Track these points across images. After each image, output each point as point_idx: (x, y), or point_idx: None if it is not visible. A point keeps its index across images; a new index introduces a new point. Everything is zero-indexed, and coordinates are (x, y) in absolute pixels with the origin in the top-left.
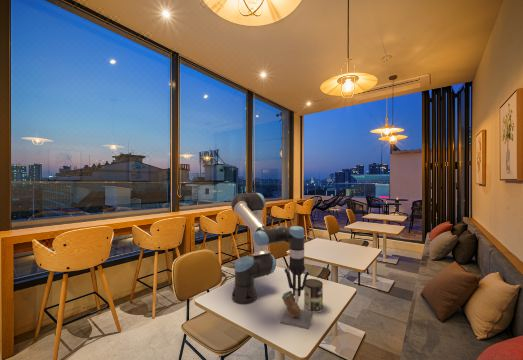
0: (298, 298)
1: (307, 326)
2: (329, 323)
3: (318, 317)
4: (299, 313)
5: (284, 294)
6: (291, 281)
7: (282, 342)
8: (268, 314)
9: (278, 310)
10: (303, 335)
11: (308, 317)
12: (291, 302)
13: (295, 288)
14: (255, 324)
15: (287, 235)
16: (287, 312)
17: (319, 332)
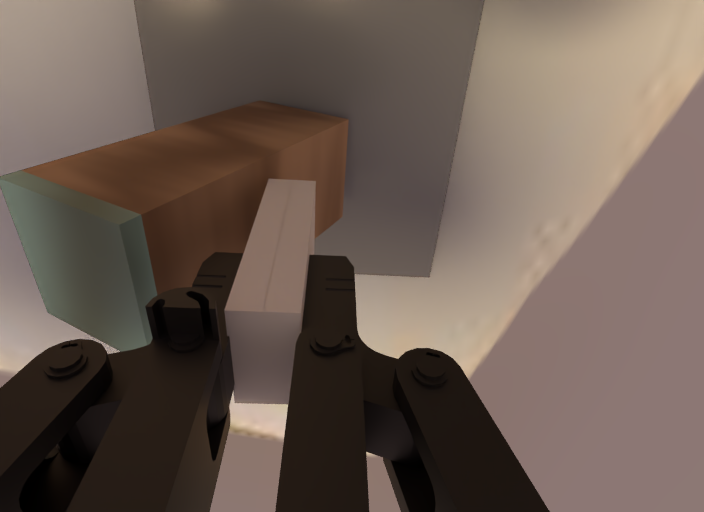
0: (313, 218)
1: (421, 270)
2: (636, 148)
3: (544, 69)
4: (340, 196)
5: (40, 246)
6: (4, 500)
7: (268, 410)
8: (8, 162)
9: (63, 50)
10: (390, 336)
11: (433, 136)
12: None
13: (227, 372)
14: (4, 317)
15: None
16: (188, 102)
17: (511, 283)
